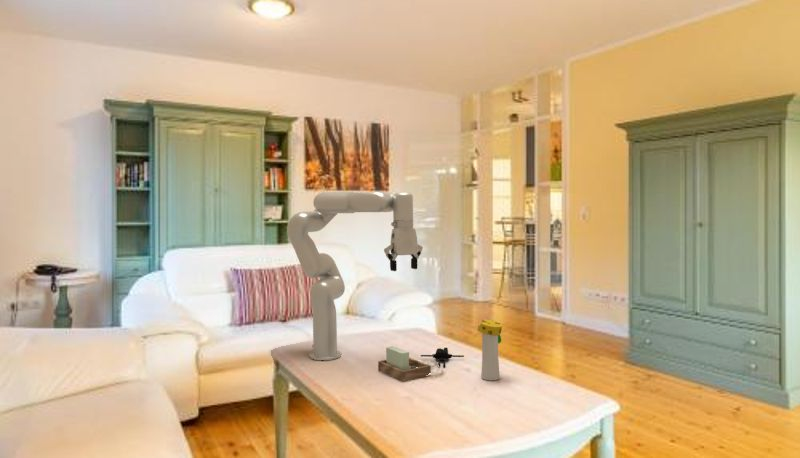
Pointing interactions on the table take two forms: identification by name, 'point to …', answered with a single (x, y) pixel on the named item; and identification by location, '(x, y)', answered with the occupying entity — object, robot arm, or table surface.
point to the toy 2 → (490, 348)
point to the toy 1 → (442, 355)
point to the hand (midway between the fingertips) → (404, 269)
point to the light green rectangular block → (397, 358)
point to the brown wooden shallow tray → (408, 374)
